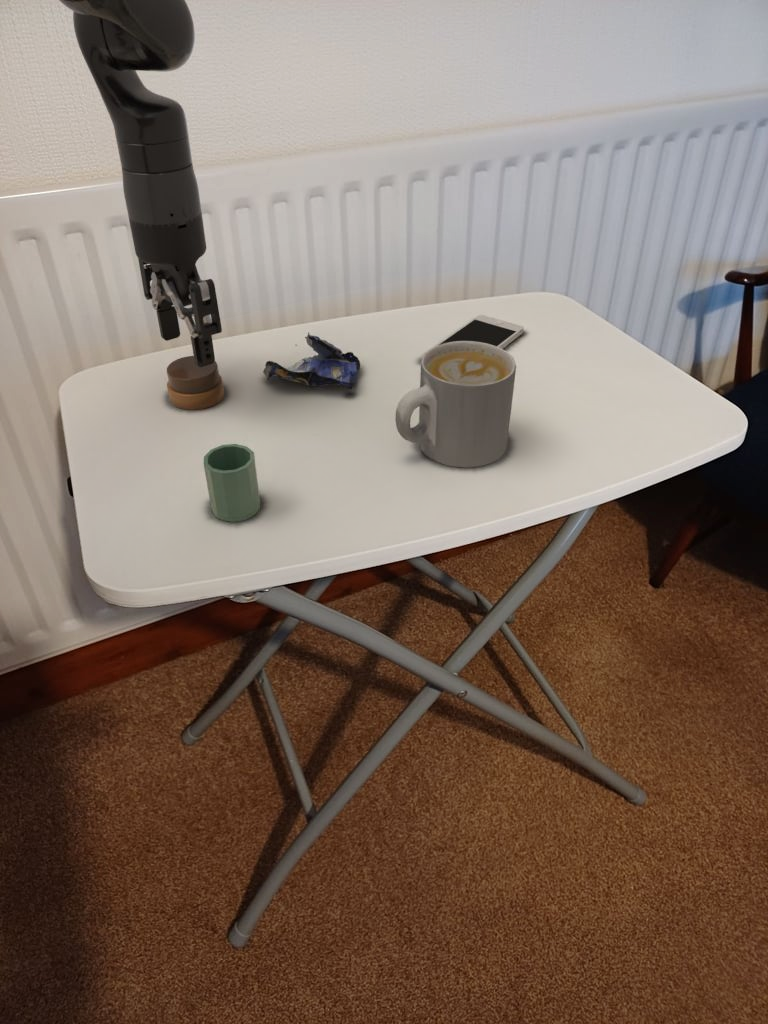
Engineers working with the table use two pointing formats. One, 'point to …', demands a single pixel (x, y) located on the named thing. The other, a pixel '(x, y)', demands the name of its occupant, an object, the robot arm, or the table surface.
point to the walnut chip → (191, 376)
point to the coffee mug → (461, 404)
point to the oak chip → (197, 397)
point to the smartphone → (486, 332)
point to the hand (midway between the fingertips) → (188, 350)
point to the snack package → (319, 366)
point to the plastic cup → (232, 482)
